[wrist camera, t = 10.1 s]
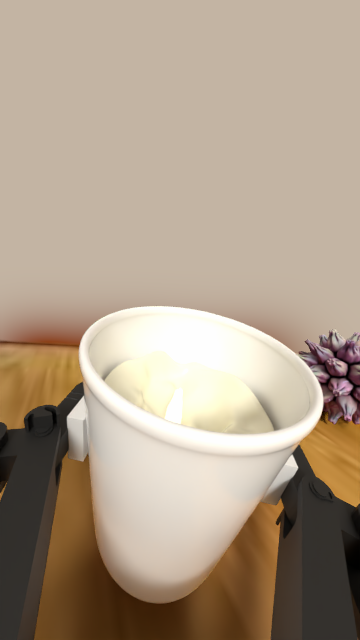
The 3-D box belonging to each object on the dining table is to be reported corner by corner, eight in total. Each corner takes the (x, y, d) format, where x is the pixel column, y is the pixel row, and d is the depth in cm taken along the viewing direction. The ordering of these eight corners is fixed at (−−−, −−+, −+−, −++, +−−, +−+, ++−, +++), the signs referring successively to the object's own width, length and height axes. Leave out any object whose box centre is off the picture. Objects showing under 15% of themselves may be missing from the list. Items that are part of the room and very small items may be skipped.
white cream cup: (109, 428, 17) (118, 296, 13) (217, 438, 18) (257, 319, 14) (37, 637, 8) (-10, 419, 4) (263, 636, 9) (420, 459, 5)
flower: (265, 403, 26) (300, 321, 22) (292, 374, 34) (321, 311, 30) (380, 479, 19) (464, 378, 15) (379, 419, 27) (433, 344, 23)
